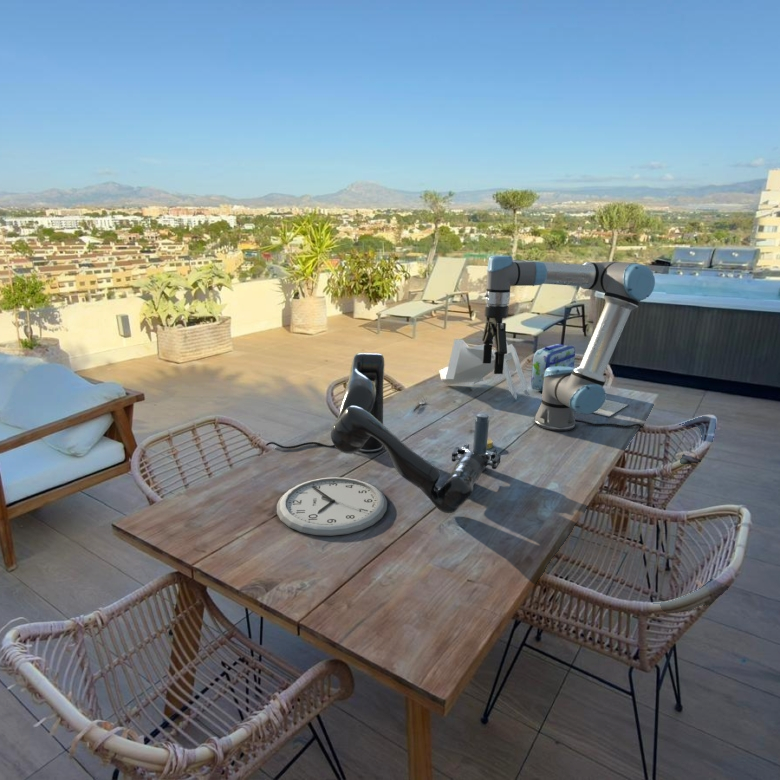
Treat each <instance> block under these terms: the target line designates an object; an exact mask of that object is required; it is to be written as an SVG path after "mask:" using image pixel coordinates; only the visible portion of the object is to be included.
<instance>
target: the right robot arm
mask: <svg viewBox="0 0 780 780" xmlns="http://www.w3.org/2000/svg"><path fill="white" fill-rule="evenodd" d="M486 271H487V273H486V289H485V294H484V298H485V303H486V304H485V306H484V316H485V324H484V330H483V335H482V339H481V340H482V343H483V344H485V345H484V351H483V363H491V355H492V350H493V345H495V350H496V352H495V353H494V354H495V365H494V370H493V374H494V375H503V373H504V370H503V364H504V355H505V354H507V344H508V342H507V343H506V340H507V332H506V331H507V330H506V328H507V323H506V322H503V319H507V318H508V316H509V309H510V308H509V304H510V299H511V287H518V286H519V287H520V286H521V287H523V286H524V287H527V286H530V287H531V286H532V287H535V286H542V285H557V286H573V287H579V288H581V289H583V290H589V291H594V292H599V293H603V294H604V295H603V298H604V301H605V304H604V307H603V309H602V312H601V313H600V316H599V319H598V321H597V323H596V325H595V328H594V331H593V333H592V336H591V338H590V340H589V341H588V345H587V346H586V350H585V352H584V354H583V357H582V358H581V361H580V363H579V365H578V367H574V368H573V367H562V366H557V367H549V368H547V369H546V370H545V374H544V382H543V391H541V392H542V394H541V402H540V405H539V407H538V410H537V411H536V413H535V417H534V424H535V425H536V426H537V427H539V428H542V429H544V430H549V431H556V432H567V431H572V430H574V429H575V428H576V423H580V424H586V425H588V426H589V425H590V426H595V427H596V426H597V427H598V426H599V427H601V426H606V427H607V426H609V427H618V428H633V427H639V428H641V429H644V426H643V424H640V423H633V424H617V423H608V422H604V423H603V422H602V423H600V422H598V423H597V422H589V421H587V420H581V419H576V418H575V417H576V416H575V413H574V412H577V413H579V414H582V415H590V414H594V413H593V412H595V411H597V410H598V409H599V408H600V407H601V406H602V405H603V403H604V402H605V399H606V398H607V394H606V390H605V388H604V386H605V384H606V379H605V377H604V374H605V372H606V369H607V367H608V365H609V363H610V360H611V358H612V356H613V353H614V352H615V349H616V346H617V344H618V342H619V339H620V338H621V335H622V332H623V330H624V328H625V325H626V323H627V321H628V319H629V316H630V314H631V312H632V311H633V310H635V309H637V308H639V305H640V303H641V301H643V300H646V299H647V298H649V297H650V296H651V295H652V293H653V292H654V289H655V285H656V278H655V275H654V272H653V271H652V269H651V268H650V267H649V266H648V265H646V264H642V263H638V262H624V261H623V262H622V261H616V260H615V261H614V260H613V261H599V262H598V261H597V262H594V261H593V262H592V261H586V262H585V263H583V264H580V263H568V262H567V263H566V262H565V263H564V262H553V261H538V260H521V259H513V256H512V255H504V254H503V255H500V254H499V255H498V254H497V255H496V254H495V255H491V256H489V258H488V262H487V269H486ZM493 340H494V341H493ZM606 400H607V399H606Z"/></svg>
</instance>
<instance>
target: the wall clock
mask: <svg viewBox="0 0 780 780" xmlns="http://www.w3.org/2000/svg"><path fill="white" fill-rule="evenodd" d="M387 509H388V500H387V498H386V496H385V494H384V493H383V492H382V491H381V490H380V489H379V488H377V487H376V486H374V485H372V484H371V483H369V482H365V481H362V480H359V479H355V478H349V477H338V476H337V477H335V476H333V477H332V476H331V477H322V478H317V479H312V480H307V481H305V482H302V483H299V484H297V485H295V486H293V487H292V488H290V489H288V490H287V491H286V492H285V493H284V494H283V495H281V496H280V498H279V499H278V502H277V503H276V515H277V517H278V518H279V520H280V521H281V522H282V523H283V524H285V525H286V526H287V527H288V528H290V529H293V530H295V531H297V532H299V533H303V534H308V535H312V536H327V537H328V536H329V537H331V536H332V537H333V536H342V535H350V534H352V533H356V532H361V531H363V530H366V529H368V528H369V527H372V526H373V525H375V524H376V523H378V522H379V521H380V520H381V519H382V518H383V517H384V516H385V514H386V512H387Z"/></svg>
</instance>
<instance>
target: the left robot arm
mask: <svg viewBox="0 0 780 780" xmlns="http://www.w3.org/2000/svg"><path fill="white" fill-rule="evenodd" d="M385 365H386V363H385V357H384V355H383V354H382V353H369V352H367V353H365V352H360V353H356V354H355V355H354V356H353V357H352V360H351V364H350V371H349V377H348V380H347V383H346V386H345V389H344V392H343V397H342V401H341V404H340V409H339V413H338V416H337V418H336V419H335V423H334V425H333V426H332V428H331V429H330V430H331V431H330V439H331V441H332V445H331V444H330V445H328V444H324V443H321V442H317V441H309V442H303V443H300V444H296V445H289V446H287V445H286V446H285V445H282V444H279V443H278V442H276V441H268V442H267V443H266V444H265V446H266V447H267V446H269V445H274V446H277V447H279V448H281V449H286V450H287V449H288V450H289V449H296V448H299V447H303V446H306V445H317V446H322V447H326V448H334V447H335V448H336V449H337V450H338V451H340V452H341V453H343V454H348V455H351V454H355V453H357V452H361V453H366V454H371V453H378V452H380V451H382V450H383V449H385V451H386V453H387V454H388V456H389V458H390V460H391V462H392V464H393V466H394V468H395V470H396V471H397V472H398V474H399V475H400V476H401V477H402V478H403V479H404V480H406V481H408V482H409V483H411V484H412V485H413V486H415V487H417V488H418V489H419V490H421V491H422V492H423V493H424V495H425V496H426V497H427V498H428V499H429V500H430V502H431V503H432V504H433V505H434V506H435V507H436V508H437V509H438V510H439V511H440V512H442V513H444V514H454V513H456V512H457V510H459V508H460V507H461V506H462V505H464V504H465V502H466V501H468V500H469V499H470V497H471V496H472V494H473V493H474V485H475V484H476V483H477V481H478V480H479V479H480V477H481V475H482V473H483V471H485V470H484V467H485V468H486V467H488V466H489V467H491V469H492V470H496V469H497V468H498V467H499V465H500V463H501V456H502V455H501V454H500V453H498V450H497V448H495V447H492V450H491V452H488V451H487V452H486V453H482V454H480V453H479V454H478V453H475V452H473V451H471V450H470V443H466V444H464V445H463V446H462V447H461V448H460V446H455V447H454V449H453V451H452V453H451V462H453V463H455V462H456V461H457V462H456V463H455V465H454V467H453V470H452V471H451V472H450V474H449V476H448V479H447V481H445V482H444V483H443V485H442V486H438V485H437V483H438V481H439V480H440V475H441V471H440V470H439V468H438V467H437V466H435V465H434V464H432V463H431V462H429V461H428V460H426V459H424V458H423V457H422V456H421V455H419V454H417V453H416V452H415V451H413V450H412V449H411V448H409V447H408V446H407V445H406V444H405V443H404V442H403V441H402V440H400V438H399V437H397V436H396V434H394V432H392V431H391V430H390V429H389V428H388V427H386V426H385V425H384V381H385ZM485 456H486V457H485Z"/></svg>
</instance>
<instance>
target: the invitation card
mask: <svg viewBox="0 0 780 780" xmlns="http://www.w3.org/2000/svg"><path fill="white" fill-rule="evenodd" d="M628 406H629V404H627V403H623V402H618V401H614V400H609V399H605V402H604V403H603V405H602V406H601V407H600V408H599V409H598V410H597V411H595V412H593V413H592V414H596V415H600V416H604V417H608V418H609V417H611V416H613V415H614V414H616V413H617V412H619V411H621V410H623V409H624V408H626V407H628Z"/></svg>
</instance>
